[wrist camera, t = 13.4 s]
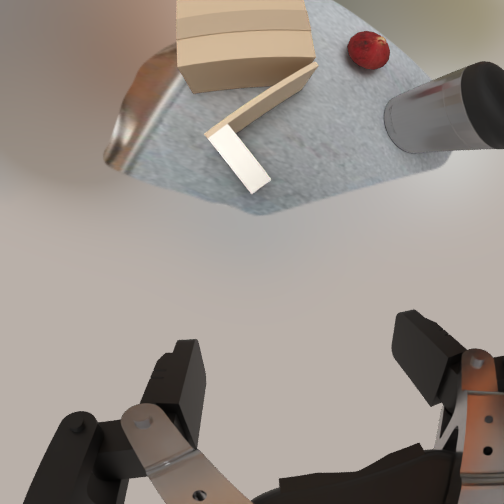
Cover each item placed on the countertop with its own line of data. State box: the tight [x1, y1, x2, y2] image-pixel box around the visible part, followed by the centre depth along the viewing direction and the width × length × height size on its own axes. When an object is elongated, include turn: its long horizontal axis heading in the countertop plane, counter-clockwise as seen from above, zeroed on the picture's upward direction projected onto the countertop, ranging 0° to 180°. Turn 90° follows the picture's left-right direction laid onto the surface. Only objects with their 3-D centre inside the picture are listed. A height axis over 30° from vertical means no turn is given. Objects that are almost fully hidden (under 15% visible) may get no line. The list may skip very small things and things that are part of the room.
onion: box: [347, 31, 390, 70], centre depth 28 cm, size 6×6×8 cm
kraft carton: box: [176, 0, 316, 94], centre depth 26 cm, size 14×10×10 cm
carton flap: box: [204, 62, 319, 194], centre depth 30 cm, size 14×8×9 cm, turn 127°
